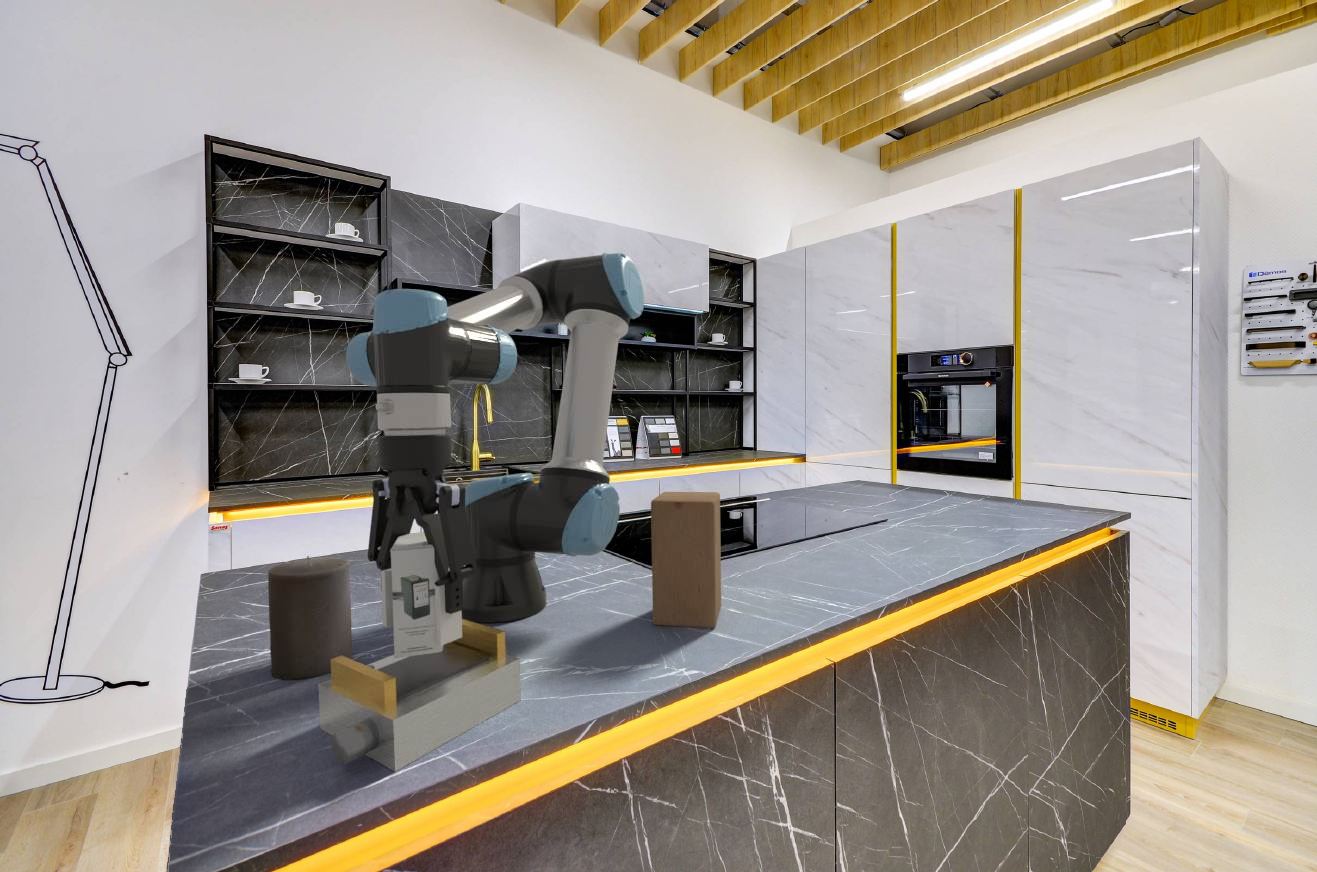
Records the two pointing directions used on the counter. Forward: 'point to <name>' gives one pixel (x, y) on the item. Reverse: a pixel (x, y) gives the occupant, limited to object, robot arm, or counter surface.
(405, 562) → the ink box
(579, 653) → the counter surface
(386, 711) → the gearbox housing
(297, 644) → the pillar candle
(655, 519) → the wooden block
